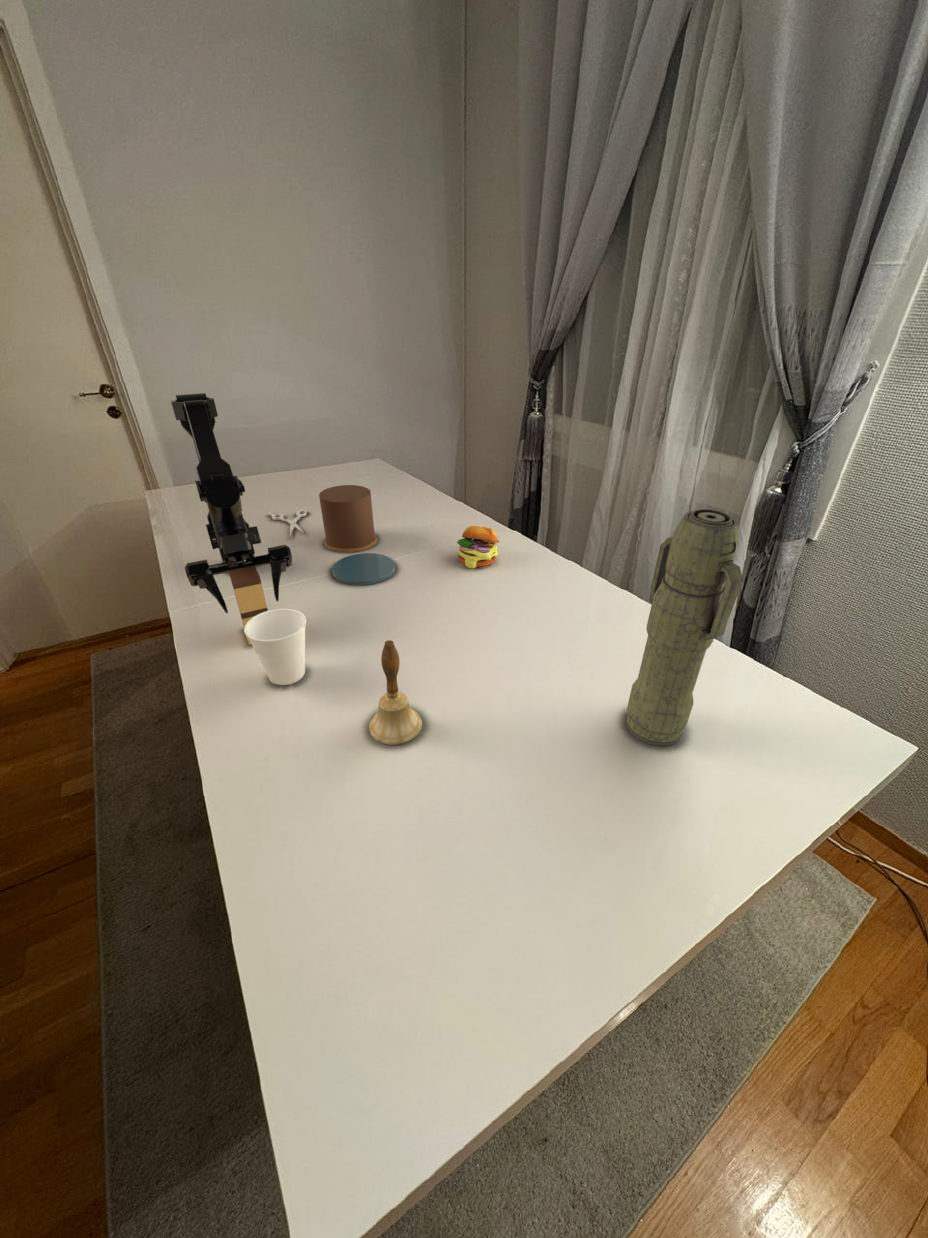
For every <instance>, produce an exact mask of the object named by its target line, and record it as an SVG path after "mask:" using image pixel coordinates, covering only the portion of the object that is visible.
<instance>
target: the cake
mask: <svg viewBox="0 0 928 1238" xmlns="http://www.w3.org/2000/svg"><path fill="white" fill-rule="evenodd" d="M318 497H319V504H320V511H321V517H322V525H323V530H324V540H323V543H324V546H325V547H326V548H327V549H328V550H330V551H333V552H338V553H356V552H361V551H364V550H368V549H370V548H371V547H374V546H375V545H376V544H377V542H378V535H377V534H376V533H375V525H374V513H373V512H374V511H373V503H372V501H373V500H372V493H371V489H370V488H368V487H366V486H363V485H356V484H341V485H335V486H331V487H327V488H325V489H323V490H321V491H320V492H319V494H318Z"/></svg>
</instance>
